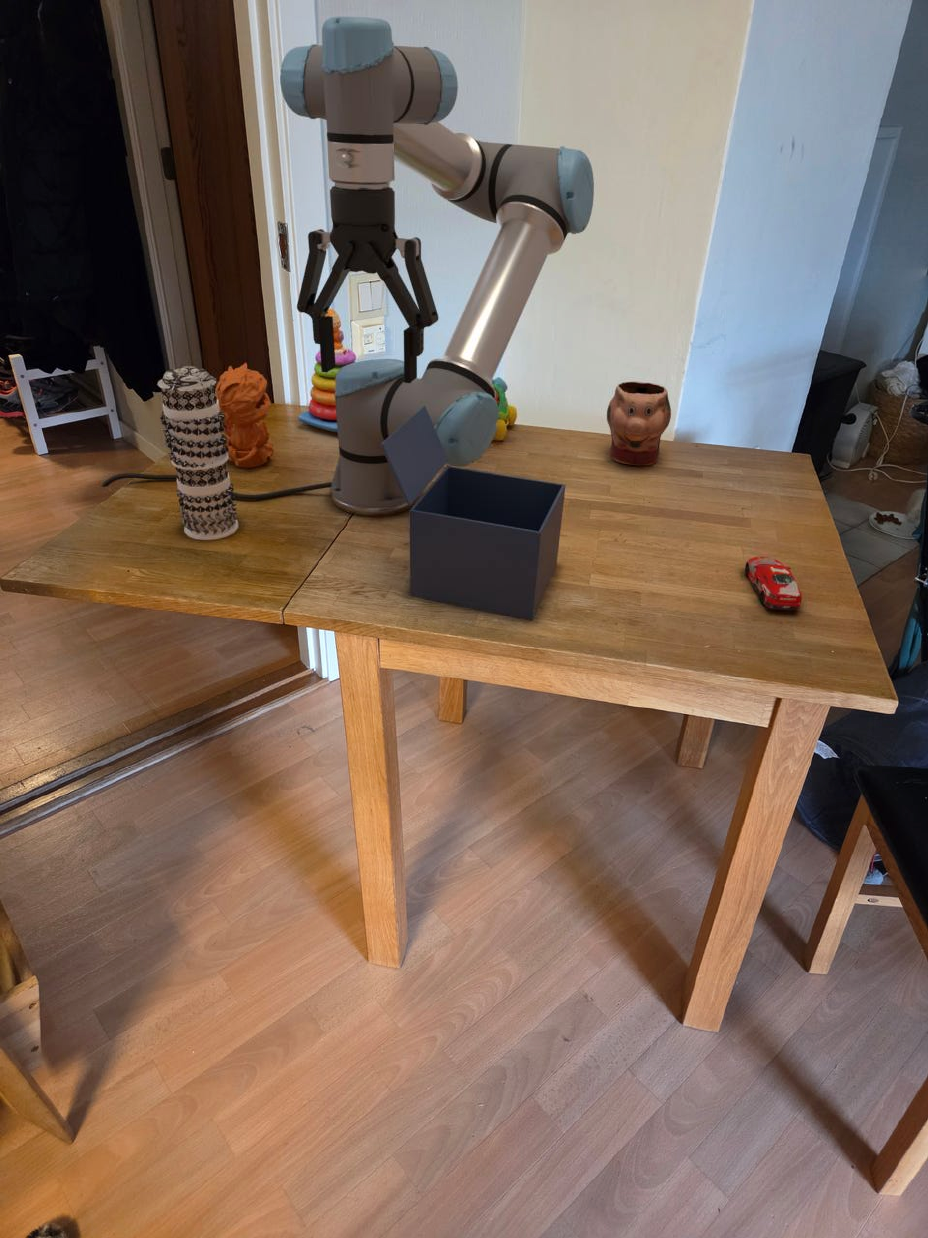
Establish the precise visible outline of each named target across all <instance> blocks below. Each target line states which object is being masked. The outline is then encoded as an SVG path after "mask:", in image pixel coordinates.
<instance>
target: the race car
mask: <svg viewBox="0 0 928 1238" xmlns="http://www.w3.org/2000/svg"><path fill="white" fill-rule="evenodd" d="M791 570H792V567H791V566H787V565H786V566H785V565H784V564H783V563H782V562H781V561H779V560H777V559H775V558H773V557H769V556H763V555H761V556H760V555H759V556H754V557H751V558H750V559H748V560H747V561H746V562H745V568H744V574H745V576H747V577H748V579H749V581H750V582H751V584H752V586H753V588H754V590H755V592H756V593H757V595H758V597H759V602H760V603H761V604H762V605H764V606H765V607H767V608H769V609H771V610H775V611H776V610H777V611H795V612H796V611H799V610H800V608H801V605H802V603H803V602H802V601H803V600H802V598H803V596H802V591H801V589H800V587H799V585H798V583H797V581H796V579H795V577H794V575H793V573H792V571H791Z"/></svg>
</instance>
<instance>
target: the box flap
mask: <svg viewBox="0 0 928 1238" xmlns="http://www.w3.org/2000/svg"><path fill="white" fill-rule="evenodd" d="M380 445H381V447H382V449H383V452H384V454H385V456H386V458H387V461H388V463H389V465H390V467H391V469H392V472H393V474H394V476H395V478H396V480H397V483H398V485H399V487H400V489H401V491H402V494H403V496H404V498H405V500H406V503H407V505H408V506H409V505H411V504H412V503H413V501H414V500H415V499H416V498H417V497H418V496H419V497H420V495H421V493H423V491H424V490H425V489H426V488H427V487H428V485H429V484H430V483H431V482H432V481H433V480H434V478H436V476H437V475H438V474H439V473H440V472H441V470H442V469H444V467H445V466H446V465H447V464H446V463H447V462H448V459H447V457H446V455H445V452H444V450H443V447H442V445H441V443H440V440H439V438H438V435H437V433H436V431H435V428H434V426H433V424H432V421H431V419H430V416H429V414H428V412H427V409H426V407H425V406H422V407H421V408H420V409H419V410H418V411H417V412H416V413H415V414H414V415H412V416H411V417H410V418H409V419H408V420H407V421H406V422H405V423H404V424H402V425H401V426H400V427H399V428H398V429H397V430H396V431H395V432H394V433H393V434H391V435H390V436H389V437H388V438H387V439H386V440H385V441H384V442H383V443H381V444H380Z"/></svg>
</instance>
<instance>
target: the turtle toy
mask: <svg viewBox="0 0 928 1238" xmlns="http://www.w3.org/2000/svg"><path fill="white" fill-rule="evenodd" d="M492 384H493V386H494V389H495V391H496V396H495V398H494V399H495V401H496V402H497V405H498V410H499V420H498V421H497V422H496V425H497V430H496V433H495V435H494V438H493V440H492V441H497V442H500V441H503V440H504V439H505V436H506V435H507V431H508V429H507V427H513V426H514V425H515V423H516V421H517V417H518V411H517V408H516V406H515V405H514V406H513V405H511V404H509V402H508V399H507V397H506V392H507V390H508V389H509V388H508V384H507V383H506V382H505V380H504V379H503V378H501V377H499V376H498V377H496V378H495V379H494V378H493V379H492Z"/></svg>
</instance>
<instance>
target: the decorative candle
mask: <svg viewBox="0 0 928 1238" xmlns="http://www.w3.org/2000/svg"><path fill="white" fill-rule="evenodd" d="M216 384H217V378H216V377H214V376H212V375H210V373H209V372H208V371H207V370H205V368H202V367H199V366H192V365H191V366H189V365H187V366H186V365H185V366H177V367H173V368H170V369H168V370H167V371H165V372H164V374H163V377H162V378H161V379H159V380H158V381H157V386H158V387H159V388H160V392H161V397H162V410H163V411H162V412H161V414H160V416H159V419H160V423H161V425H163V426H164V428H163V434H164V438H165V445H166V447H167V448H169V451H168V456H169V459H170V463H171V464H172V466H174V468H175V473H176V475H177V480H176V484H177V489H176V496H177V497H178V505H179V506H180V509H179V512H180V517H181V523H182V526H183V527H184V528H183V532H184V534H185V535H186V536H187V537H189V538H191V539H194V540H198V541H199V540H201V541H213V540H219V539H222V538H226V537H228V536H230V535H233V534H234V533H235V532H236V531H238V529H239V521H238V518H239V516H238V512H237V503H236V502H234V501H235V499H236V498H235V497H234V493H235V492H234V490H235V489H234V484H233V483H231V477H230V473H229V472H228V464H227V461H228V460H229V457H228V453H227V452H228V451H229V448H228V446H227V445H225V443H226V441H227V440H228V439H229V438H228V437H227V435H226V434H223V431H224V430H225V429H226V428H227V426H226V424H225V423H224V422H222V421H223V420H224V418H225V414H224V413H223V412H221V411H220V408H219V401H218V399H217V398H216ZM233 492H234V493H233Z"/></svg>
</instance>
